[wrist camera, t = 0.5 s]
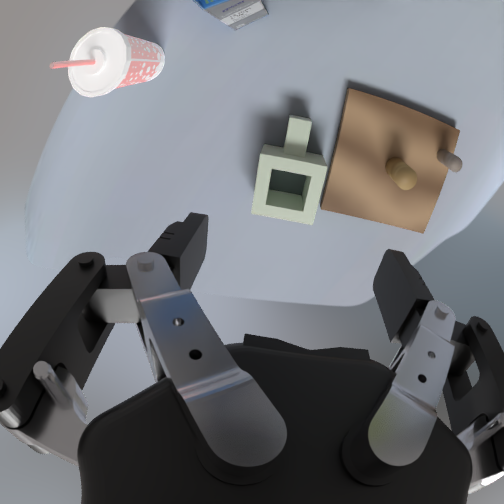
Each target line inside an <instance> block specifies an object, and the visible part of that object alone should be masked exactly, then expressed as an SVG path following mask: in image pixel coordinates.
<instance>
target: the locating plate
mask: <svg viewBox="0 0 504 504" xmlns="http://www.w3.org/2000/svg"><path fill="white" fill-rule="evenodd" d="M459 133H460V130H458V129H456V128H454V127H452V126H450V125H448V124H445V123H443V122H441V121H439V120H437V119H434V118H432V117H430V116H428V115H425V114H423V113H420V112H418V111H416V110H413V109H411V108H408V107H405V106H403V105H400V104H397V103H395V102H392V101H389V100H386V99H383V98H380V97H377V96H374V95H371V94H368V93H364V92H361V91H357V90H354V89H350V88H348V89H347V94H346V98H345V103H344V108H343V113H342V117H341V122H340V127H339V131H338V135H337V140H336V144H335V148H334V153H333V157H332V161H331V165H330V169H329V173H328V177H327V181H326V185H325V189H324V193H323V197H322V200H321V204H320V207H321V209H322V210H327V211H331V212H336V213H341V214H345V215H350V216H354V217H359V218H363V219H367V220H371V221H376V222H380V223H384V224H388V225H392V226H396V227H400V228H404V229H408V230H412V231H415V232H419V233H424V231H425V229H426V226H427V224H428V222H429V219H430V217H431V215H432V212H433V210H434V207H435V205H436V202H437V200H438V197H439V194H440V192H441V189H442V186H443V183H444V181H445V178H446V175H447V172H448V169H450V170H452V171H453V172H458V171H460V169H461V168H462V161H461V159H460V158H459V157H457V156H456V155H454V154H453V153H454V150H455V147H456V143H457V140H458V136H459Z"/></svg>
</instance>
